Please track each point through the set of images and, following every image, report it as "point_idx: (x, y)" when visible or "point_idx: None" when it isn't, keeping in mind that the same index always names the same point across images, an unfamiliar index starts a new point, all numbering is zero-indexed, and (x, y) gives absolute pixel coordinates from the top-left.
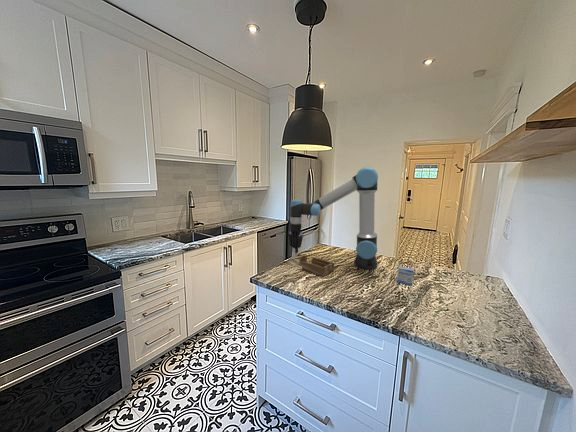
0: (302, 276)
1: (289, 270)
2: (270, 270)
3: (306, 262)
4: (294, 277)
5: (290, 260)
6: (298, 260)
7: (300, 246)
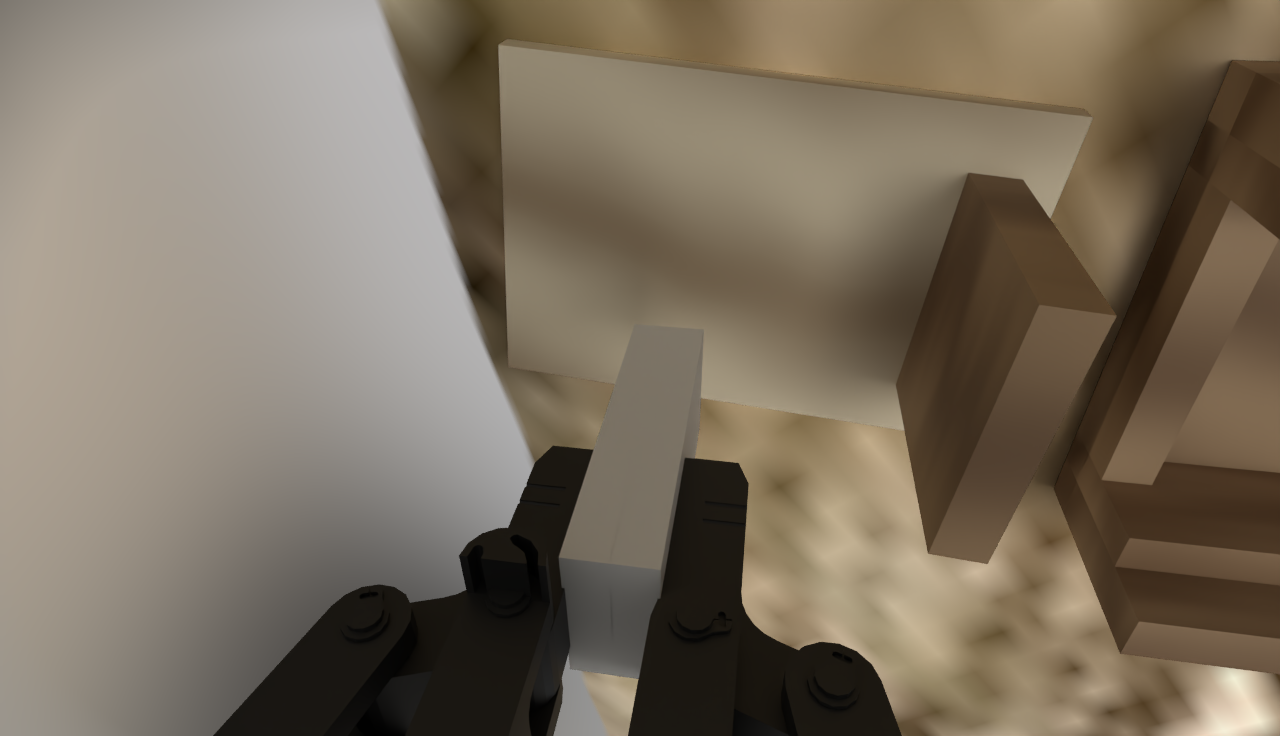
0: (1183, 668)
1: (839, 595)
2: (605, 694)
3: (1267, 653)
4: (1064, 728)
5: (511, 254)
6: (660, 110)
7: (886, 723)
